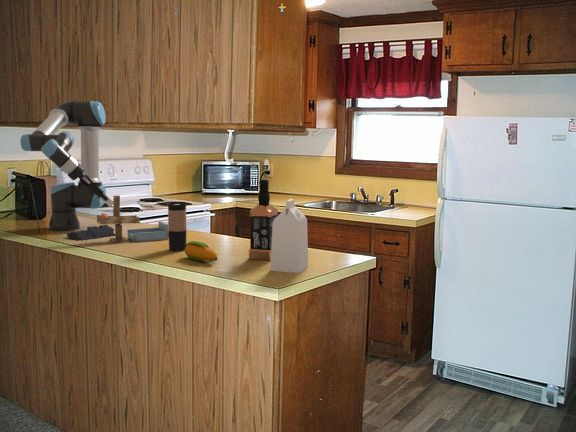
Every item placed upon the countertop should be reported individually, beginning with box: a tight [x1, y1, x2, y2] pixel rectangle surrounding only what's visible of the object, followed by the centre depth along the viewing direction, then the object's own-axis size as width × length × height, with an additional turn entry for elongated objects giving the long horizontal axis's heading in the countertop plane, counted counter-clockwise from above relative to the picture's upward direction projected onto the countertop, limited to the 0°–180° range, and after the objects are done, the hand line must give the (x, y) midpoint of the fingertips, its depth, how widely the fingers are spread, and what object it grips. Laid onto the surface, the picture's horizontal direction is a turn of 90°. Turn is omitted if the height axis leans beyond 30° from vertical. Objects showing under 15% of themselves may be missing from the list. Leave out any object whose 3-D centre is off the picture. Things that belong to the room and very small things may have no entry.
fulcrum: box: [109, 224, 129, 244], centre depth 284 cm, size 7×7×8 cm
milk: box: [269, 198, 309, 274], centre depth 231 cm, size 12×12×26 cm
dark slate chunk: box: [66, 224, 115, 242], centre depth 295 cm, size 15×22×5 cm
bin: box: [127, 220, 169, 243], centre depth 290 cm, size 16×12×7 cm
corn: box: [184, 240, 218, 262], centre depth 244 cm, size 7×8×20 cm
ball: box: [99, 212, 109, 218], centre depth 279 cm, size 4×4×4 cm
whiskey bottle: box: [248, 178, 279, 262], centre depth 249 cm, size 10×10×32 cm
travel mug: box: [167, 202, 187, 252], centre depth 264 cm, size 8×8×20 cm
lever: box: [96, 195, 141, 225], centre depth 283 cm, size 18×9×12 cm, turn 118°
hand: (111, 204), depth 283 cm, fingers closed, pressing on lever
